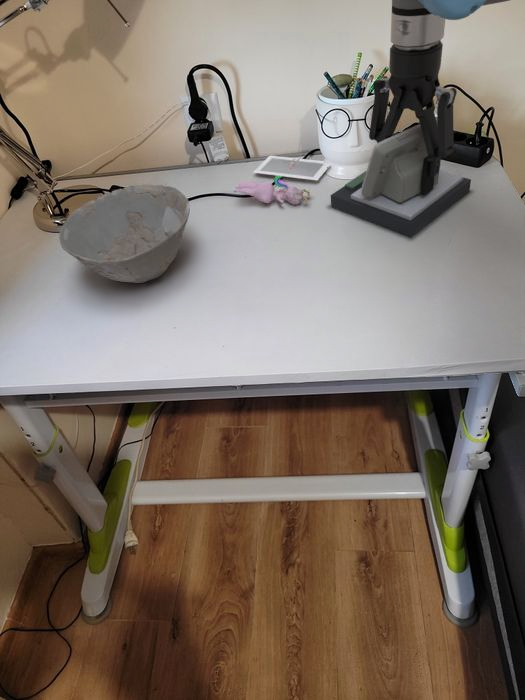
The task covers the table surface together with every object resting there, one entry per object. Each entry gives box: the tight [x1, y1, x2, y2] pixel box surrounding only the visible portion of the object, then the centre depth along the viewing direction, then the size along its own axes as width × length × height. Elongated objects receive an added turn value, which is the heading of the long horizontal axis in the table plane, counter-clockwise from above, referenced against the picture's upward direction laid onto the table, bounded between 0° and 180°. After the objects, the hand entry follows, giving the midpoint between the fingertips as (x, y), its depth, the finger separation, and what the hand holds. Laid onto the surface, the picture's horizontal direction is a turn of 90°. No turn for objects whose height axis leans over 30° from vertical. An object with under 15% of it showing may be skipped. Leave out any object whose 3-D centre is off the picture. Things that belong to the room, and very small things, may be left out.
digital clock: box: [362, 116, 439, 203], centre depth 87 cm, size 16×9×11 cm, turn 111°
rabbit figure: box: [233, 175, 311, 206], centre depth 99 cm, size 6×6×15 cm
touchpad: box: [252, 155, 328, 181], centre depth 108 cm, size 8×15×2 cm, turn 62°
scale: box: [330, 169, 472, 239], centre depth 94 cm, size 18×18×3 cm
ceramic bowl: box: [58, 184, 191, 284], centre depth 88 cm, size 22×23×10 cm
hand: (406, 185), depth 91 cm, fingers closed on digital clock, 8 cm apart
